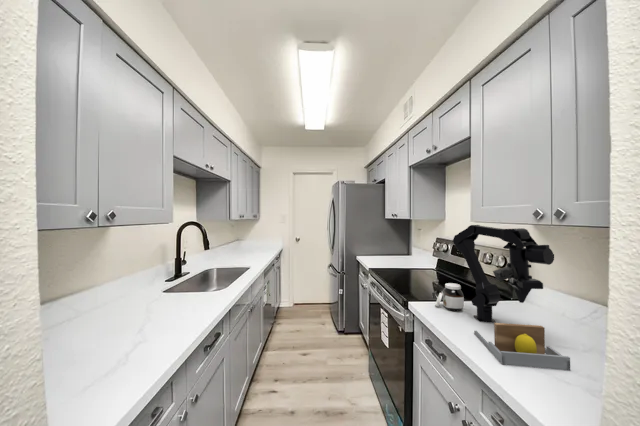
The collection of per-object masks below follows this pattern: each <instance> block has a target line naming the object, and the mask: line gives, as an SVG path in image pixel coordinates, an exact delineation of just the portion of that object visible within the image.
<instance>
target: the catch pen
mask: <svg viewBox="0 0 640 426" xmlns="http://www.w3.org/2000/svg"><path fill="white" fill-rule="evenodd" d="M473 333H474V335H475V337H476V338H477V339H478V340H479V341H480V342H481V344H483V346H484V347H486V348H487V350H488V351H489V352H490V353H491V354H492V356H494V358H495V359H496V360H497V361H498V362H499V363H500V364H501V365H502V366H512V367H513V366H514V367H525V368H536V369H537V368H538V369H548V370H559V371H560V370H561V371H571V357H570V356H569V355H563V354H561V353H560V352H558V351H557V350H555V349H554V347H551V346H550V345H545V354H533V353H520V352H507V351H500V350H499V349H498V348H497V347H496V346H495V343H493V341H487V340H485V338H484V337H483V336H482V335H481V334H480V332H478V331H477V330H474V332H473Z"/></svg>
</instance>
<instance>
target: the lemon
mask: <svg viewBox="0 0 640 426" xmlns="http://www.w3.org/2000/svg"><path fill="white" fill-rule="evenodd" d="M515 349H516V351H517V352H520V353H533V354H536V353H537V347H536V343H535V341H534V340H533V339H532V338H531V337H530V336H528V335H527V334H522V335H519V336H517V337H516V340H515Z"/></svg>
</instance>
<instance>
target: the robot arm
mask: <svg viewBox="0 0 640 426" xmlns="http://www.w3.org/2000/svg"><path fill="white" fill-rule="evenodd" d="M479 235H480V236H486V237H491V238H496V239H497V238H498V239H501V241H504V242H506V243H507V244H506V245H504V246H503V249H507V250H509V262H507V263H506V267H501V268H498V269H496V270H493V271H492V272H493V273H492V274H493V275H494V277H495V279H496V280H498V281H499V282H503V281H505V280H508V279H509V281H507V284H509V285H510V286H512V288H513V290H514V291H515V295H516V297H517V300H518V302H519V303H521V304H523V303H524V302H525V301H526V299H527V297H528V296H529V294H530V292H531V291H532V290H543V289H544V282H542V281H541V280H539V279H536V278H533V276H532V275H530V268H532V265H531V264H532V263H533V264H541V265H551V264H553V262H554V261H555V254H554V252H553V250H552V249H551V248H550V245H549V244H538V243H537V242H536V240H535V239H534V238H533V237H532V236H531V234H530V232H529V231H528V229H526V228H524V227H523V228H520V227H519V228H518V227H517V228H501V227H500V228H499V227H494V226H493V227H492V226H484V225H480V224H471V225H469V226H467V227H466V228H465V229H464V230H462V231H460V232H459V233H458V234H455V235H454V236H453V239H452V243H453V245H454V246H455V248H456V249H457V250H458V251H459V252H460V253H461V254H462V256H463V257H464V259H465V262H466V265H467V266H468V268H469V271H470V274H471V276H472V278H473V281H474V282H475V294H476V295H475V296H474V297H473V298H472V299H471V304H472V306H475V307H476V315H475V314H473V317H474V318H475V319H476V321H478V322H479V323H493V324H494V323H497V321H496V320H494V319H493V307H497V305H498V303H499V302H500V300H501V295H500V294H501V292H500V291H499V289H498V286H497V284H495V283H493V284H492V283H491V282H490V281H489V279H488V278H487V275H486V272H484V269H483V267H482V264H481V262H480V260H479V258H478V256H477V253H476V252H475V249H476V248H475V247H476V244H475V241H476V240H477V239H478V237H479ZM529 263H531V264H529Z"/></svg>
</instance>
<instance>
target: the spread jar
mask: <svg viewBox="0 0 640 426" xmlns="http://www.w3.org/2000/svg"><path fill="white" fill-rule="evenodd" d="M461 289H462V286H461V285H460V284H458V283H453V282H448V283H447V282H446V283H445V284H444V288H443V289H442V292H439V294H438V296H437V299H436V302H435V306H436V307H439V306H440V304H441V301H442V303H443V304H442V305H443V307H444V308H445V310H447V311H451V312H462V310H463V309H465V308H464V307H465V305H464V304H465V303H464V302H465V301H464V300H465V298H464V297H465V296H464V293H463V291H462V290H461Z"/></svg>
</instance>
